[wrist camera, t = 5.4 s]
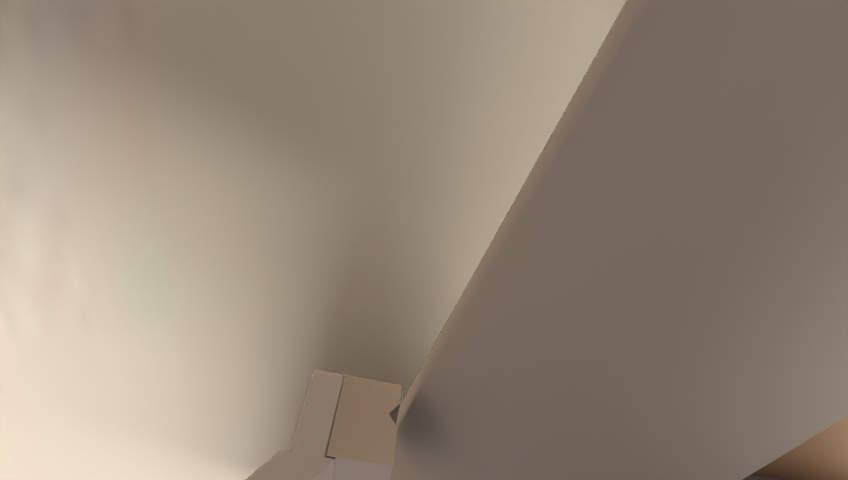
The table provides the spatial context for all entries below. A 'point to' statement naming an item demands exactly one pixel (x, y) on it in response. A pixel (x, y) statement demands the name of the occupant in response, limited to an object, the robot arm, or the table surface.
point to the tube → (660, 265)
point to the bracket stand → (812, 458)
